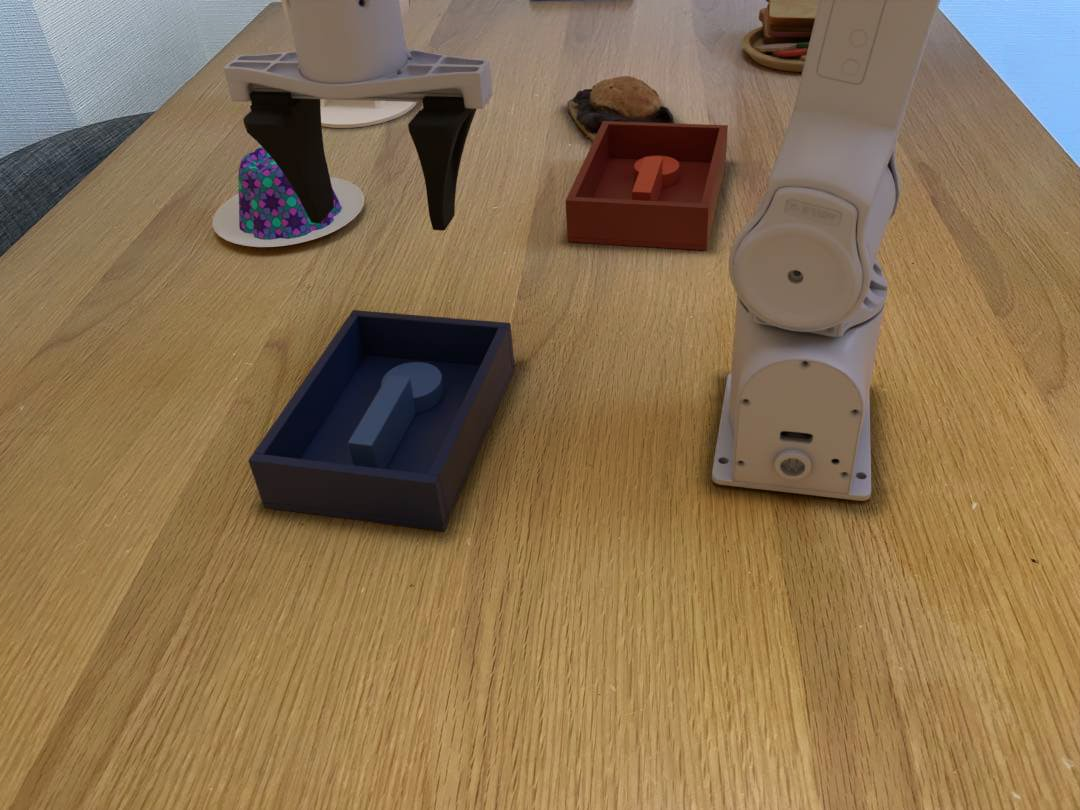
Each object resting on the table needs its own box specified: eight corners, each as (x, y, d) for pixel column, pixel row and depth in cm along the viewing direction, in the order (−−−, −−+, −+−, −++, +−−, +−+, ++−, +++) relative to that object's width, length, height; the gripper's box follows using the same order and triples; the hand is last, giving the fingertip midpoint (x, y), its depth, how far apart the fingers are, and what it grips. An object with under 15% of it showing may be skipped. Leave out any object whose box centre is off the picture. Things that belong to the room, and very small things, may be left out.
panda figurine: (439, 84, 100) (418, -77, 91) (400, 130, 91) (372, -42, 82) (330, 81, 103) (299, -76, 93) (282, 125, 94) (242, -42, 85)
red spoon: (665, 225, 73) (665, 193, 72) (617, 222, 74) (616, 190, 72) (681, 170, 80) (682, 139, 79) (638, 168, 81) (637, 138, 79)
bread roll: (561, 109, 93) (558, 70, 91) (646, 94, 94) (645, 56, 92) (595, 153, 85) (593, 111, 83) (687, 136, 86) (688, 95, 84)
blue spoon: (399, 484, 53) (391, 447, 51) (337, 476, 54) (327, 440, 52) (452, 380, 60) (446, 345, 58) (396, 374, 61) (389, 340, 59)
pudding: (295, 269, 73) (279, 204, 69) (182, 236, 78) (162, 174, 75) (396, 199, 80) (385, 138, 77) (287, 173, 86) (272, 115, 82)
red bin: (706, 250, 71) (708, 207, 69) (567, 241, 73) (565, 200, 71) (725, 164, 81) (727, 124, 79) (603, 159, 84) (602, 120, 82)
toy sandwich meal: (732, 73, 97) (735, 23, 94) (750, 27, 107) (753, -19, 104) (865, 78, 94) (872, 27, 91) (871, 31, 104) (878, -17, 101)
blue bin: (444, 531, 51) (435, 483, 48) (263, 507, 53) (247, 460, 51) (515, 368, 61) (510, 322, 59) (362, 353, 64) (352, 309, 61)
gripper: (497, -47, 51) (518, 193, 60) (244, -45, 54) (297, 182, 63) (457, -5, 46) (486, 251, 54) (179, -6, 49) (247, 236, 58)
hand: (382, 218), depth 58 cm, fingers open, 7 cm apart
